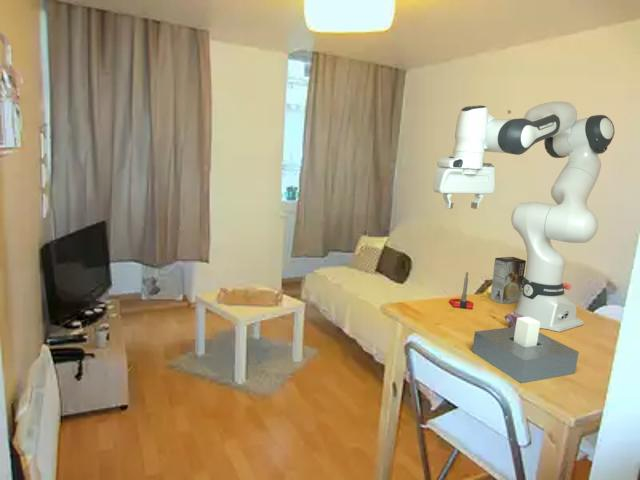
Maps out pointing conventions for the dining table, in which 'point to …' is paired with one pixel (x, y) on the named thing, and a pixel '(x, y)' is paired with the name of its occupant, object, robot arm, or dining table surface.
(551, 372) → the socket block
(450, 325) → the dining table surface
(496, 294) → the coffee box
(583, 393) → the dining table surface
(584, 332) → the dining table surface
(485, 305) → the dining table surface
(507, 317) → the video game controller
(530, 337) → the peg
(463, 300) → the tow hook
